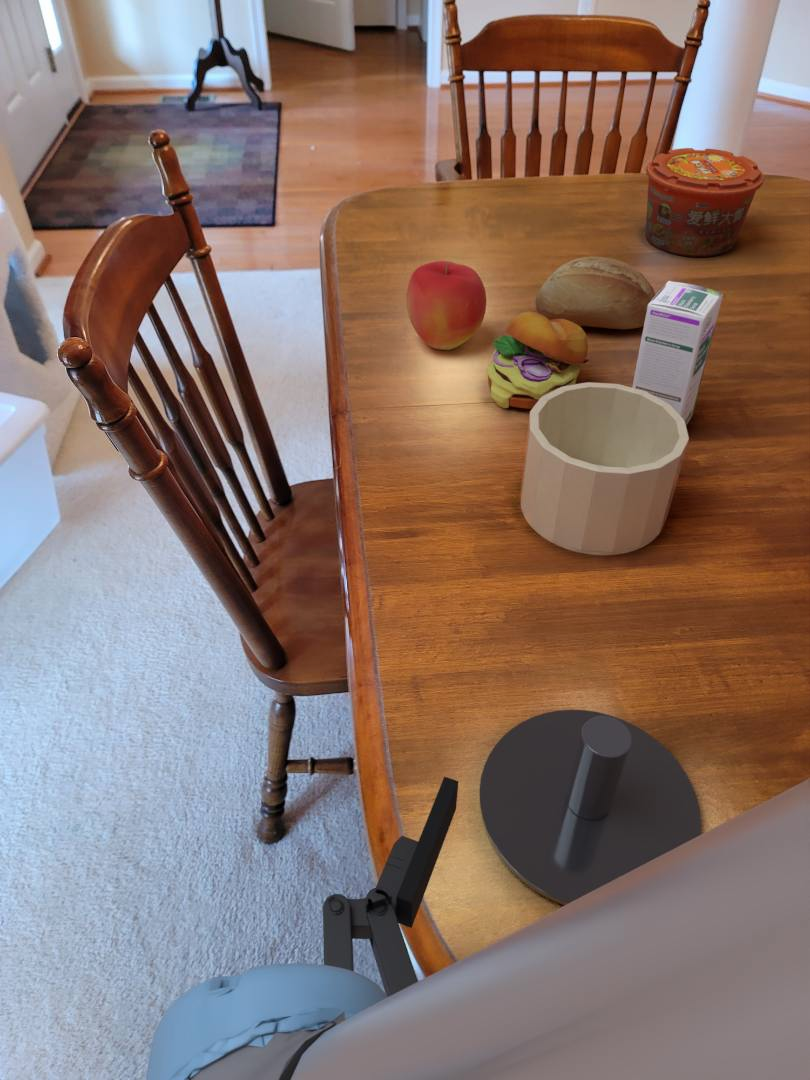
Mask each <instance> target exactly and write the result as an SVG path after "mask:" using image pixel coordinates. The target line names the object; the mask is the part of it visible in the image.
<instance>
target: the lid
mask: <svg viewBox="0 0 810 1080" xmlns="http://www.w3.org/2000/svg"><path fill="white" fill-rule="evenodd" d="M479 782H480V783H479V789H478V798H479V801H478V802H479V803H478V804H479V811H480V817H481V818H480V819H481V821H482V825H483V828H484V831H485V833H486V835H487V838H488V839H489V842H490V844H491V846H492V847H493V849H494V851H495V852H496V854H497V856H498V857H499V858H500V860H501V861H502V862H503V863H504V864H505V866H506V867H507V869H509V871H511V873H512V874H514V875H515V876H516V877H517V878H518V879H519V881H521V882H523V883H524V884H525V885H527V887H529V888H530V889H531V890H533V891H535V892H536V893H538V894H540V895H541V896H544V897H545V898H547V899H548V900H552V901H553V902H556V903H558V904H560V905H563V906H565V905H567V904H569V903H570V902H572V901H574V900H576V899H578V898H580V897H582V896H584V895H586V894H588V893H590V892H592V891H594V890H596V889H597V888H599V887H601V886H603V885H605V884H607V883H609V882H611V881H613V880H615V879H617V878H619V877H621V876H622V875H624V874H626V873H628V872H630V871H632V870H634V869H636V868H638V867H640V866H642V865H644V864H646V863H648V862H649V861H651V860H653V859H655V858H657V857H659V856H661V855H663V854H665V853H667V852H669V851H671V850H673V849H674V848H676V847H678V846H680V845H682V844H684V843H686V842H688V841H690V840H692V839H694V838H696V837H698V836H700V835H701V834H702V816H701V809H700V805H699V801H698V797H697V794H696V792H695V789H694V786H693V784H692V782H691V780H690V778H689V776H688V775H687V773H686V771H685V770H684V768H683V767H682V765H681V764H680V762H679V761H678V760H677V758H676V757H675V756H674V755H673V754H672V753H671V752H670V751H669V749H667V748H666V747H665V746H664V745H663V744H662V743H661V742H660V741H659V740H657V738H655V737H653V736H652V735H651V734H649V733H648V732H646V731H645V730H643V729H642V728H641V727H638V726H636V725H635V724H632V723H630V722H628V721H626V720H624V719H622V718H619V717H616V716H614V715H610V714H607V713H603V712H599V711H595V710H594V711H592V710H586V709H562V710H552V711H549V712H543V713H541V714H538V715H534V716H531V717H530V718H527V719H526V720H524V721H521V722H520V723H518V724H517V725H515V726H513V727H512V728H511V729H510V730H508V731H507V733H505V734H503V736H502V737H501V738H500V739H499V740H498V741H497V743H496V744H495V745H494V746H493V748H492V749H491V751H490V753H489V754H488V757H487V758H486V761H485V763H484V764H483V768H482V772H481V776H480V781H479Z"/></svg>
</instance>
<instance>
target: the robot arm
mask: <svg viewBox="0 0 810 1080" xmlns="http://www.w3.org/2000/svg"><path fill="white" fill-rule="evenodd" d="M458 791H459V780H456V779H453V778H450V777H447V776H444V777H443V779H442V781H441V784H440V787H439V789H438V791H437V794H436V796H435V798H434V801H433V804H432V806H431V809H430V811H429V814H428V816H427V819H426V821H425V824H424V826H423V829H422V831H421V834H420V837H419V838H418V840H415V839H412V838H410V837H406V836H404V835H401V836H400V837H398V839H397V840H396V841H394V843H393V845H392V848H391V850H390V853H389V855H388V857H387V860H386V863H385V864H384V866H383V869H382V871H381V874H380V876H379V878H378V881H377V882H376V883H377V884H376V885H375V887H373V888H371V889H370V890H369V891H368V893H366V896H365V897H364V898H347V896H345V895H343V894H341V893H333V894H330V895H329V896H328V897H327V898H326V899H325V900H324V902H323V905H322V920H323V921H322V927H323V928H322V931H323V933H322V935H323V938H322V939H323V964H319V963H302V962H301V963H299V962H297V963H296V962H295V963H293V962H292V963H291V962H290V963H273V964H265V965H259V966H258V965H257V966H253V967H249V968H248V969H246V970H245V971H243V972H242V973H241V974H239V975H232V976H231V975H230V976H224V975H223V976H222V975H219V976H213V977H211V978H209V979H206V980H204V981H202V982H200V983H198V984H196V985H195V986H193V987H191V988H189V989H188V990H186V991H185V992H183V993H182V994H180V995H179V996H178V998H176V999H175V1000H174V1001H173V1002H172V1003H171V1004H170V1005H169V1006H168V1007H167V1008H166V1010H165V1011H164V1013H163V1015H162V1017H161V1018H160V1020H159V1022H158V1024H157V1025H156V1028H155V1030H154V1034H153V1037H152V1041H151V1047H150V1052H149V1058H148V1063H147V1070H146V1075H145V1080H810V777H809V778H808V779H806V780H804V781H802V782H799V783H798V784H796V785H794V786H792V787H790V788H788V789H786V790H784V791H782V792H780V793H778V794H776V795H774V796H772V797H771V798H768V799H767V800H765V801H763V802H762V803H759V804H757V805H755V806H754V807H752V808H750V809H748V810H746V811H744V812H741V813H740V814H738V815H736V816H734V817H733V818H730V819H729V820H727V821H724V822H723V823H721V824H719V825H717V826H715V827H713V828H712V829H709V830H707V831H706V832H703V833H701V835H700V836H698V837H696V838H694V839H692V840H690V841H688V842H686V843H684V844H682V845H680V846H678V847H676V848H674V849H673V850H671V851H669V852H667V853H665V854H663V855H661V856H659V857H657V858H655V859H653V860H651V861H649V862H648V863H646V864H644V865H642V866H640V867H638V868H636V869H634V870H632V871H630V872H628V873H626V874H624V875H622V876H621V877H619V878H617V879H615V880H613V881H611V882H609V883H607V884H605V885H603V886H601V887H599V888H597V889H596V890H594V891H592V892H590V893H588V894H586V895H584V896H582V897H580V898H578V899H576V900H574V901H572V902H570V903H569V904H567V905H563V906H561V907H559V908H557V909H554V910H553V911H551V912H549V913H548V914H545V915H543V916H542V917H539V918H538V919H536V920H534V921H532V922H530V923H528V924H526V925H524V926H522V927H520V928H518V929H517V930H514V931H512V932H511V933H509V934H506V935H505V936H503V937H501V938H499V939H497V940H495V941H493V942H491V943H489V944H488V945H486V946H484V947H482V948H480V949H478V950H476V951H474V952H472V953H470V954H468V955H467V956H465V957H462V958H461V959H459V960H457V961H454V962H452V963H451V964H449V965H447V966H445V967H443V968H441V969H439V970H438V971H436V972H433V973H432V974H429V975H428V976H426V977H424V978H422V979H421V980H418V977H417V975H416V971H415V968H414V965H413V962H412V959H411V955H410V953H409V950H408V948H407V947H408V946H407V944H406V941H405V938H404V935H403V932H402V929H401V927H400V925H403V926H405V927H407V928H410V929H412V928H413V925H414V923H415V920H416V917H417V915H418V912H419V910H420V907H421V904H422V901H423V898H424V896H425V893H426V891H427V889H428V885H429V882H430V880H431V878H432V875H433V873H434V870H435V867H436V864H437V862H438V858H439V857H440V853H441V851H442V848H443V845H444V842H445V840H446V837H447V834H448V832H449V829H450V827H451V824H452V821H453V819H454V815H455V813H456V811H457V803H458V801H457V800H458ZM354 940H369V943H370V947H371V951H372V954H373V957H374V960H375V963H376V967H377V970H378V973H379V976H380V980H381V983H382V986H383V988H381V986H380V985H379V984H378V983H376V982H375V981H374V980H372V979H371V978H369V977H367V976H365V975H363V974H361V973H359V972H356V971H355V964H354V963H355V962H354V943H353V941H354Z"/></svg>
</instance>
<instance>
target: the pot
mask: <svg viewBox="0 0 810 1080" xmlns="http://www.w3.org/2000/svg"><path fill="white" fill-rule="evenodd" d="M689 441H690V437H689V432H688V429H687V425H686V424H685V420H684V419H683V418H682V417H681V416H680V415H679V414H678V413H677V412H676V411H675V409H674V408H673V407H672V406H671V405H670V404H668V403H666V402H665V401H663V400H661V399H659V398H657V397H655V396H653V395H652V394H650V393H648V392H645V391H643V390H639V389H635V388H632V386H627V385H623V384H620V383H611V382H608V383H607V382H594V381H593V382H591V381H589V382H588V381H587V382H586V381H585V382H581V383H576V384H574V385H568V386H563V387H560V388H558V389H556V390H554V391H552V392H550V393H548V394H546V395H544V396H542V397H541V398H540V399H539V401H538V402H537V403H536V405H535V406H534V407H533V408H532V409H531V410H529V417H528V426H527V434H526V442H525V449H524V450H525V451H524V452H525V453H524V459H523V468H522V476H521V484H520V499H519V502H520V503H519V504H520V508H521V512H522V515H523V516H524V519H525V520H526V522H527V523H528V524H529V526H530V527H531V528H532V529H533V530H534V531H535V532H536V533H537V534H538V535H539V536H541V537H542V538H544V539H545V540H547V541H548V542H550V543H552V544H554V545H556V546H558V547H561V548H563V549H566V550H569V551H573V552H576V553H580V554H585V555H591V556H592V555H593V556H617V555H622V554H627V553H630V552H635V551H638V550H640V549H642V548H643V547H646V546H647V545H649V544H651V542H653V541H654V540H656V538H657V537H658V536H659V535H660V533H661V531H662V530H663V528H664V525H665V522H666V520H667V518H668V515H669V513H670V508H671V505H672V501H673V498H674V494H675V491H676V487H677V484H678V481H679V477H680V473H681V469H682V466H683V463H684V459H685V454H686V452H687V447H688V445H689Z"/></svg>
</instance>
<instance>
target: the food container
mask: <svg viewBox="0 0 810 1080" xmlns="http://www.w3.org/2000/svg"><path fill="white" fill-rule="evenodd" d="M644 176H647V177H648V185H647V186H648V188H647V203H646V206H647V207H646V217H645V218H646V219H645V235H644V236H645V239H646V241H647V242H648V243H649V245H651V246H652V247H654V248H655V249H657V250H660V251H662V252H665V253H668V254H671V255H676V256H682V257H689V258H707V257H715V256H719V255H723V254H725V253H727V252H729V251H731V250H732V248H733V247H734V246H735V244H736V241H737V239H738V236H739V234H740V232H741V230H742V227H743V224H744V222H745V220H746V217H747V214H748V212H749V209H750V207H751V204H752V202H753V199H754V197H755V195H756V192H757V190H759V189H760V188H761V187H762V186H763V184H764V182H765V175H764V173H763V171H761V169H760V168H758V164H757V163H756V162H755V161H754V160H752V159H750V158H748V157H746V156H744V155H740V156H736V155H734V153H733V152H731V151H727V150H722V149H717V148H705V149H694V148H692V147H682V148H677V149H676V148H675V149H671V150H668V152H667V153H659V154H658V155H656V156H655V157H654V159H652V160H650V161H649V163H648V162H647V166H646V167H645V174H644Z"/></svg>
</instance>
